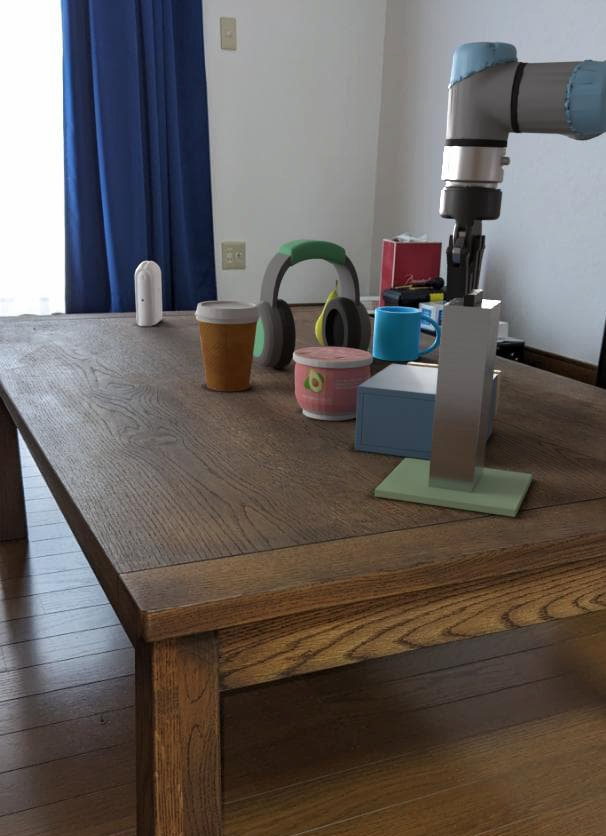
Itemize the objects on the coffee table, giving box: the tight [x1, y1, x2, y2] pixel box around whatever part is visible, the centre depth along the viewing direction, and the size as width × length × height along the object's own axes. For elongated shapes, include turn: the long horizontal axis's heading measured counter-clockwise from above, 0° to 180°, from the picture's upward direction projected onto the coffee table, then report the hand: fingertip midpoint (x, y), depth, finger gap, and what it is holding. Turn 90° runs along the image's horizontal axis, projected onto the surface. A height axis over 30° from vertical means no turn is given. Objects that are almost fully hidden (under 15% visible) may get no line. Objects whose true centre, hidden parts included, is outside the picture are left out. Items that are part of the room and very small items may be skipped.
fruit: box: [314, 279, 340, 347], centre depth 164 cm, size 6×6×12 cm
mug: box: [372, 305, 441, 362], centre depth 158 cm, size 12×8×8 cm
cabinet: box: [354, 363, 498, 461], centre depth 108 cm, size 15×14×8 cm
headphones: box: [253, 238, 372, 369], centre depth 147 cm, size 19×11×20 cm, turn 114°
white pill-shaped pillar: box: [134, 260, 163, 327], centre depth 185 cm, size 10×4×12 cm, turn 178°
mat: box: [374, 457, 533, 518], centre depth 93 cm, size 14×12×1 cm
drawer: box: [406, 361, 503, 417], centre depth 116 cm, size 18×12×6 cm
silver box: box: [428, 289, 502, 493], centre depth 89 cm, size 4×6×19 cm
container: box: [292, 346, 374, 421], centre depth 119 cm, size 10×10×8 cm
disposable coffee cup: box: [194, 300, 260, 392], centre depth 132 cm, size 10×10×12 cm
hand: (455, 374), depth 120 cm, fingers closed
